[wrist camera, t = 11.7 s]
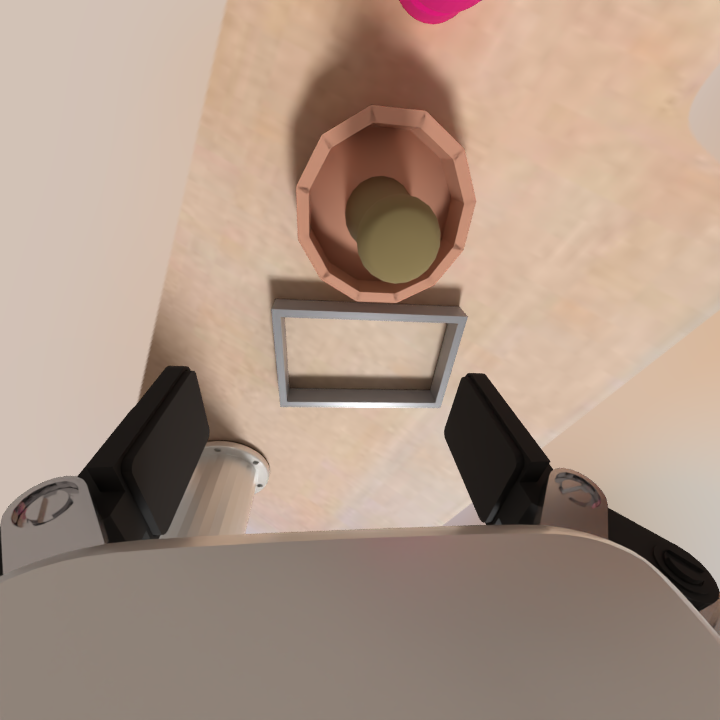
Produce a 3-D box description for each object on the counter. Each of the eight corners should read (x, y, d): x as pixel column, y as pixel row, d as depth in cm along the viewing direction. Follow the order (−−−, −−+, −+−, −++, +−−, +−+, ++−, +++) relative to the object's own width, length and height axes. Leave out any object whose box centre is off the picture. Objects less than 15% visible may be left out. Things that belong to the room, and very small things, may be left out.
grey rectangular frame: (434, 394, 40) (440, 407, 38) (283, 393, 38) (280, 406, 36) (459, 306, 33) (467, 316, 31) (275, 298, 31) (271, 309, 29)
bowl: (437, 289, 32) (449, 305, 28) (303, 283, 30) (300, 298, 27) (474, 123, 24) (497, 118, 21) (298, 104, 23) (292, 96, 19)
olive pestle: (331, 221, 27) (330, 256, 18) (376, 157, 24) (402, 160, 15) (381, 264, 29) (403, 314, 20) (427, 210, 27) (476, 240, 18)
